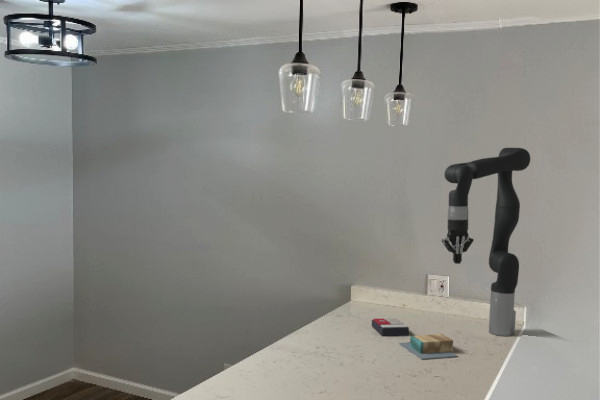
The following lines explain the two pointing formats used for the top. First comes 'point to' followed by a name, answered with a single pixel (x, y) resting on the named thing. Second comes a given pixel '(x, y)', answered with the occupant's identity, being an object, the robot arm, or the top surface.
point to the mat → (428, 355)
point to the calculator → (390, 327)
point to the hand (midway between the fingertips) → (457, 263)
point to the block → (431, 343)
